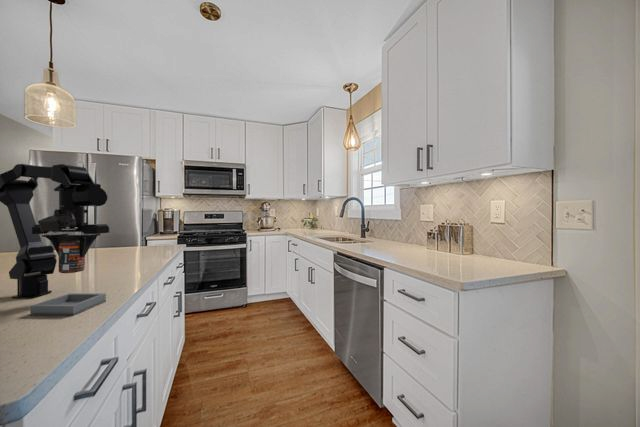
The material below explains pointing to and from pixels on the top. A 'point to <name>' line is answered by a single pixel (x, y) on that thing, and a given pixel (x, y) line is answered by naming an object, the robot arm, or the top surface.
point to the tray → (68, 304)
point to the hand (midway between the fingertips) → (71, 257)
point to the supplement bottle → (70, 255)
